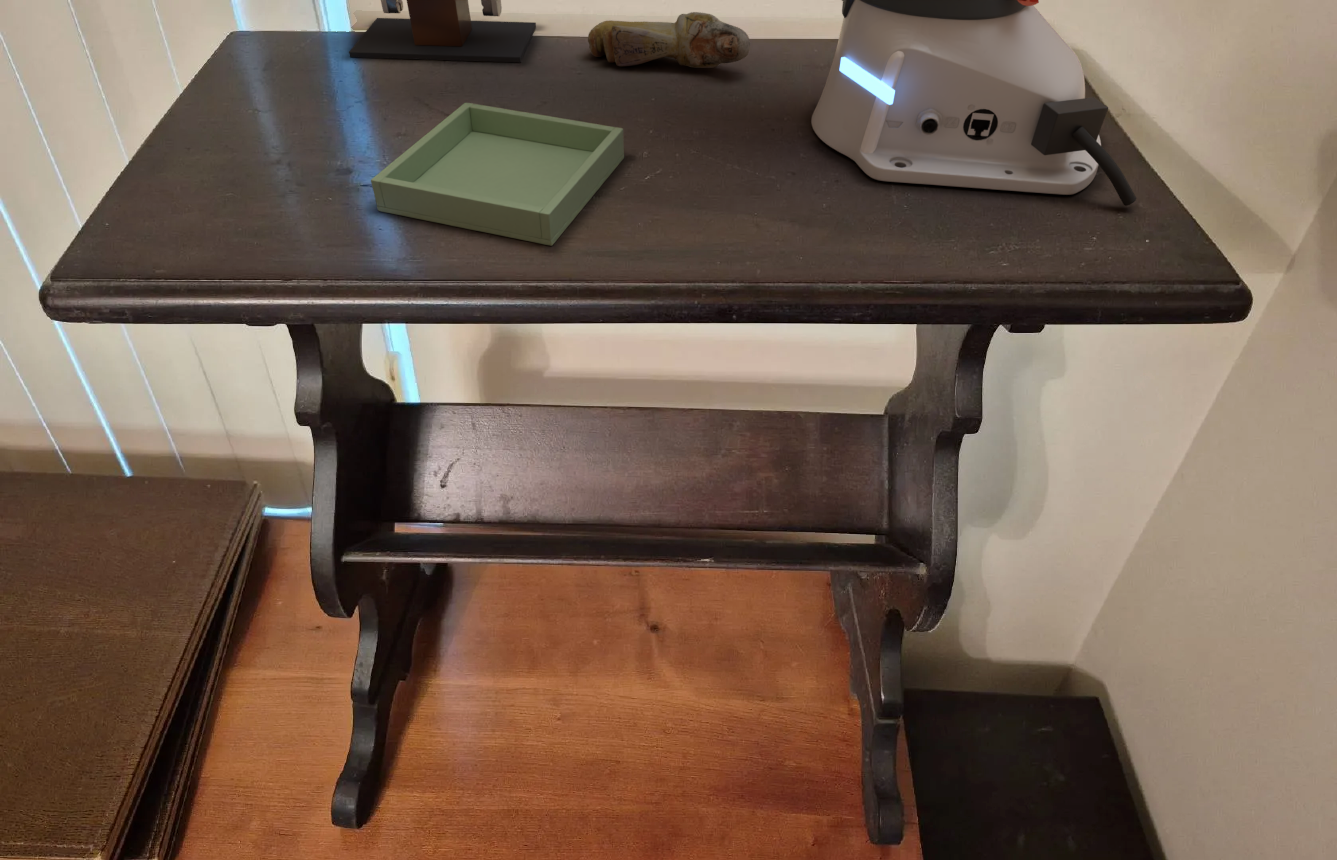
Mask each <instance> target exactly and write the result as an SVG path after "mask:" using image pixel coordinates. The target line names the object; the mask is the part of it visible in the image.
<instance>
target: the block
mask: <svg viewBox="0 0 1337 860" xmlns="http://www.w3.org/2000/svg"><path fill="white" fill-rule="evenodd" d="M406 3H407V10H408V14H409V19H410V21H411V27H412V32H413V37H414V43H415V45H426V46H460V47H462V46H463V44H464V42H465V40H466V39H467V37H468V35H469V34H470V32H471V30H472V26H471V21H472V20H471V12H470V5H469V0H406Z"/></svg>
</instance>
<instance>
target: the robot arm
mask: <svg viewBox="0 0 1337 860" xmlns="http://www.w3.org/2000/svg"><path fill="white" fill-rule="evenodd" d="M841 2H842V5H841V6H842V7H841V15H842V16H843V17H842V18H843V19H842V24H841V28H840V33H839V37H838V41H837V44H836V47H835V50H834V51H835V52H834V55H833V59H832V62H831V66H830V69H829V72H828V75H827V78H826V81H825V84H824V87H823V89H822V93H821V95H820V97H819V100H818V102H817V104H816V106H815V108H814V110H813V112H812V115H811V119H810V120H811V121H810V122H811V123H810V124H811V127H812V130H813V131H814V133H815V134H816V136H817V137H818V138H819V139H820V140H821V141H822V142H823V143H825V145H827V146H828V147H830V148H831V149H833V150H835V151H836V152H838V153H840V154H842V155H844V156H846V157H848V158H849V159H850V160H852V161H853V162H854V163H856V165H857V166H858V167H859V169H860V170H862V171H863V173H864V174H866V175H867V176H868V177H870V178H871V179H873V180H876V181H881V182H891V183H904V184H915V185H916V184H917V185H932V186H942V187H943V186H944V187H957V188H972V189H983V190H995V191H996V190H998V191H1007V192H1008V191H1010V192H1011V191H1012V192H1023V193H1035V194H1036V193H1037V194H1050V195H1063V196H1065V195H1066V196H1068V195H1069V196H1070V195H1075V194H1077V193H1079V192H1081V191H1083V190H1084V189H1086V188H1087V187H1088V186H1089V185H1090V184H1091V183H1092V182H1093V180H1095V177H1096V175H1097V173H1098V170H1099V167H1100V168H1101V170H1102V171H1103V172H1104V174H1105V175H1106V177H1107V178H1108V179H1109V181H1110V183H1111V184H1112V187H1113V188H1114V190H1115V192H1116V193H1117V196H1118V197H1119V200H1120V201H1121V202H1122V204H1123V206H1125V207H1127V206H1130V205H1132V204H1133V203H1135V202H1136V201H1137V197H1136V195H1135V192H1134V191H1133V189H1132V188H1131V185H1130V184H1129V182H1128V179H1127V178H1126V176H1125V175H1124V173H1123V171H1122V170H1121V169H1120V166H1118V164H1117V163H1116V161H1115V160H1114V159H1113V158H1112V156H1111V155H1110V154H1109V153H1108V151H1106V149H1105V148H1104V147H1103V146H1102V141H1101V138H1100V132H1101V130H1102V127H1103V124H1104V121H1105V119H1106V116H1107V113H1108V110H1109V107H1108V106H1107V105H1106V104H1105V103H1103V102H1101V101H1100V100H1098V99H1097V98H1096V97H1094V96H1093V97H1086V85H1085V84H1086V82H1085V74H1084V69H1083V66H1082V64H1081V61H1080V59H1079V56H1078V55H1077V53H1076V52H1075V51H1074V50H1073V48H1071V46H1070V45H1069V44H1068V43H1067V42H1066V41H1065V40H1064V39H1063V37H1062V36H1061V35H1060V34H1059V33H1058V32H1057V30H1055V28H1054V27H1053V26H1052V24H1050V23H1049V21H1048V20H1047V19H1046V18H1045V17H1044V16H1043V15H1042V13H1041V12H1040V11H1039V10H1038V9H1037V7H1036V6H1035V5H1037V4H1039V2H1040V1H1039V0H841ZM480 3H481V5H480V6H482V7H483V8H482V10H481V11H482V15H483V17H500V16H501V14H502V8H503V7H502V0H480ZM380 4H381V8H382V12H383V14H401V13H402V11H403V10H404V2H403V0H380Z"/></svg>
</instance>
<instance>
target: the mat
mask: <svg viewBox="0 0 1337 860" xmlns="http://www.w3.org/2000/svg"><path fill="white" fill-rule="evenodd" d="M471 26H472V30H471V32H470V34H469V35H468V37H467V39H466V40H465V42H464V44H463V46H462V47H460V46H426V45H415V43H414V37H413V32H412V27H411V21H410V18H395V17H376V18H375V20H374V21H373V22H372V23H371V24H370V26H369V27H368V28H367V29H366V30H365V31H364V33H363V34H362V35H361V37H360V38H359V39H358V40H357V42H355V44H354V45H353V46H352V47H351V49H350V50H349V51H348V56H349V57H350V58H363V59H364V58H366V59H396V60H427V61H428V60H429V61H432V60H433V61H460V62H461V61H462V62H488V63H489V62H490V63H491V62H493V63H521V62H522V60H523V57H524V55H525V53H526V51H527V49H528V46H529V44H530V42H531V40H532V37H533V35H534V34H535V31H536V29H537V23H536V22H535V21H534V22H529V21H528V22H527V21H497V20H496V21H495V20H492V21H491V20H471Z"/></svg>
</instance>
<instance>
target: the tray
mask: <svg viewBox="0 0 1337 860" xmlns="http://www.w3.org/2000/svg"><path fill="white" fill-rule="evenodd" d="M624 142H625V141H624V128H622V127H617V126H611V125H604V124H597V123H592V122H586V121H581V120H574V119H568V118H563V117H562V118H561V117H556V116H551V115H543V114H538V113H531V112H525V111H519V110H513V109H508V108H501V107H495V106H489V105H485V104H484V105H483V104H479V103H472V102H471V103H470V102H464V103H463V104H461V105H460V106H458V108H456V109H455V110H454V111H453V112H451V113H450V114H449V115H448V116H446V117H445V118H444V119H443V120H442V121H441V122H439V123H438V124H437V125H436V126H435V127H433V128H432V129H431V130H429V131H428V132H427V133H426V134H425V135H423V136H422V137H421V138H420V139H419V140H417V141H416V142H415V143H414V144H412V145H411V146H410V147H409V148H408V149H407V150H405V151H404V152H403V153H402V154H400V155H399V156H398V157H396V158H395V159H394V160H393V161H392V162H391V163H389V164H388V165H387V166H386V167H384V169H382V170H381V171H380V172H378V173H377V174H376V175H374V176H373V177H372V178H371V179H370V183H371V187H372V190H373V191H372V192H373V195H374V199H375V203H376V209H377V211H378V212H382V213H388V214H392V215H397V216H403V217H407V218H412V219H417V220H422V221H426V222H431V223H435V224H441V225H447V226H451V227H455V228H456V227H457V228H461V229H467V230H471V231H477V232H481V233H486V234H490V235H491V234H492V235H496V236H500V237H506V238H511V239H516V240H520V241H526V242H531V243H535V244H541V245H546V246H551V247H552V246H553V245H554V244H555V243H556V242H557V241H558V239H559V238H560V237H561V236H562V234H563V233H564V232H565V231H566V229H567V228H568V227H569V226H570V225H571V223H573V221H574V220H575V218H577V216H578V215H579V213H581V211H582V210H583V209H584V208H585V207H586V205H587V204H588V203H589V201H590V200H591V199H592V197H594V195H595V194H596V193H597V191H599V190H600V188H601V187H602V186H603V184H605V182H606V181H607V180H608V178H609V177H610V176H611V174H612V173H613V172H614V171H615V170H616V169H617V168H618V166H619V165H620V164H621V162H622V161H623V160H624V159H625V147H624V146H625V143H624Z"/></svg>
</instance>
